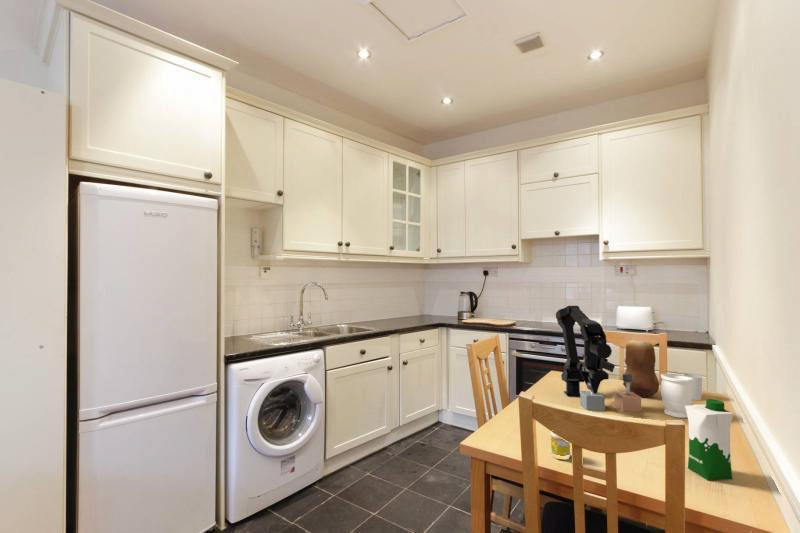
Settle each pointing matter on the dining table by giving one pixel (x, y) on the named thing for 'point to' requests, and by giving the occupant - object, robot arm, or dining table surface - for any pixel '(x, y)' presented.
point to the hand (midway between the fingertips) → (592, 391)
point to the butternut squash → (641, 368)
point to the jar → (676, 394)
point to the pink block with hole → (628, 402)
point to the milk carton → (710, 440)
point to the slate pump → (589, 387)
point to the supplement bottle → (559, 446)
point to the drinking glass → (696, 386)
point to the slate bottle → (592, 401)
